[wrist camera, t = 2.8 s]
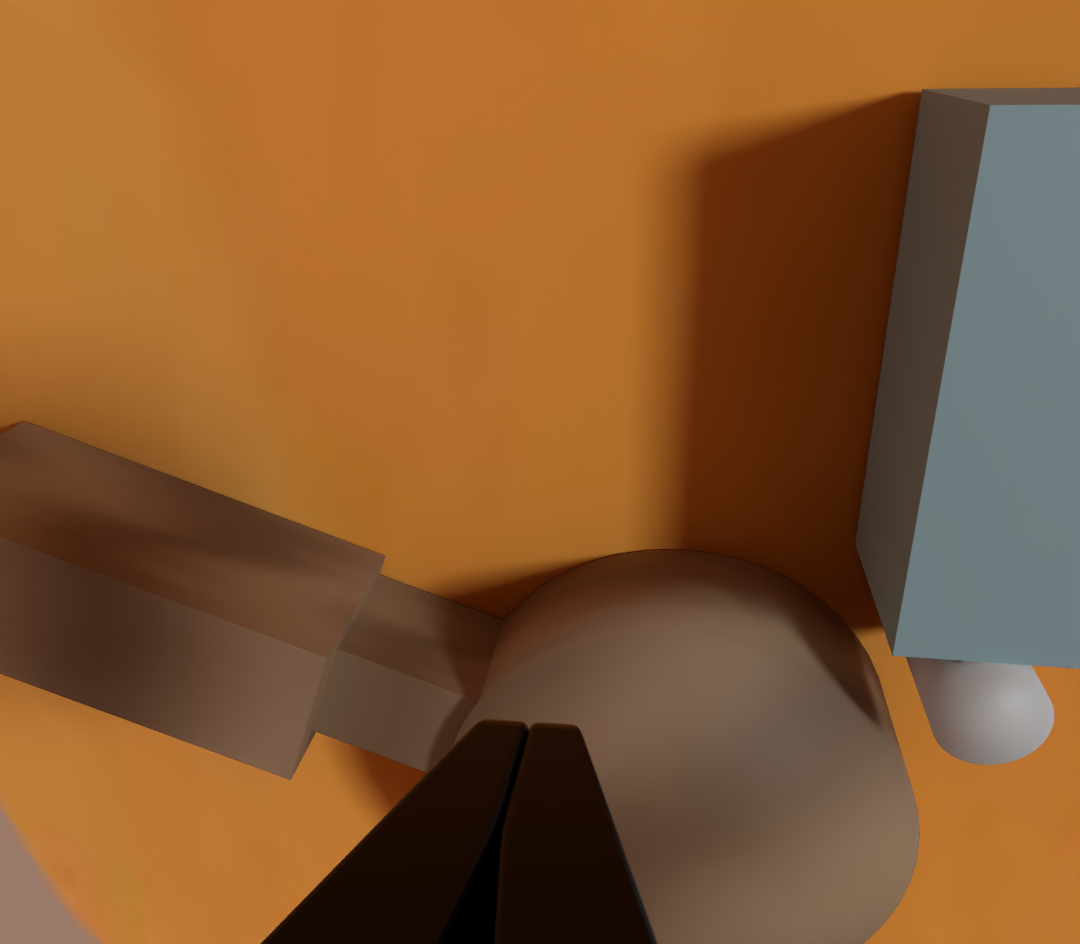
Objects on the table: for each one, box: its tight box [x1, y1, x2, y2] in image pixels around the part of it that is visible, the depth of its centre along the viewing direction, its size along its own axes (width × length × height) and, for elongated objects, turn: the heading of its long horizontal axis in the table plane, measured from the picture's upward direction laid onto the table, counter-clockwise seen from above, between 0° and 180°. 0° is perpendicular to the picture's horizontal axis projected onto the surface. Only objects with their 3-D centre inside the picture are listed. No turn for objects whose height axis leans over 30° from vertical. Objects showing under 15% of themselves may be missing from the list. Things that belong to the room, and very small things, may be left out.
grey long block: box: [855, 88, 1080, 765], centre depth 16 cm, size 11×4×4 cm, turn 1°
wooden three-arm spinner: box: [0, 421, 920, 944], centre depth 22 cm, size 31×16×4 cm, turn 39°
